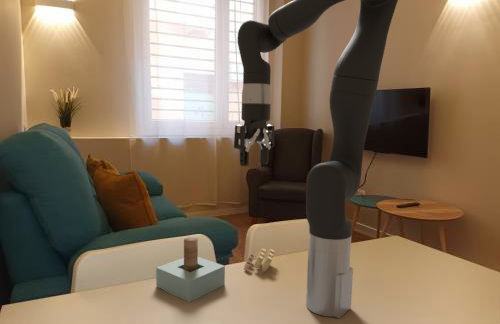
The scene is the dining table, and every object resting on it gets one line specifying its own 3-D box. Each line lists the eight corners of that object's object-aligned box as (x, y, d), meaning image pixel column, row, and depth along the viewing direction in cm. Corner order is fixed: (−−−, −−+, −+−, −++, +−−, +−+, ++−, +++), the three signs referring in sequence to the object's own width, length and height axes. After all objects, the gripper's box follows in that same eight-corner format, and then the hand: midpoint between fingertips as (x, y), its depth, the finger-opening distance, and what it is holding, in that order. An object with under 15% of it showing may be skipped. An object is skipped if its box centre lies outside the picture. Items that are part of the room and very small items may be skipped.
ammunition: (275, 248, 110) (248, 246, 111) (272, 258, 103) (243, 255, 104) (274, 264, 111) (247, 262, 112) (271, 274, 103) (243, 272, 105)
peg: (200, 285, 95) (200, 239, 94) (190, 290, 93) (190, 242, 91) (191, 281, 97) (191, 236, 96) (180, 286, 95) (180, 239, 93)
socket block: (224, 284, 96) (224, 266, 95) (189, 302, 87) (189, 281, 86) (192, 272, 103) (192, 254, 103) (156, 286, 94) (156, 267, 93)
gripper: (250, 101, 90) (248, 168, 92) (283, 103, 101) (281, 163, 103) (226, 101, 95) (225, 165, 96) (261, 103, 106) (259, 161, 107)
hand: (254, 164), depth 100 cm, fingers open, 8 cm apart
